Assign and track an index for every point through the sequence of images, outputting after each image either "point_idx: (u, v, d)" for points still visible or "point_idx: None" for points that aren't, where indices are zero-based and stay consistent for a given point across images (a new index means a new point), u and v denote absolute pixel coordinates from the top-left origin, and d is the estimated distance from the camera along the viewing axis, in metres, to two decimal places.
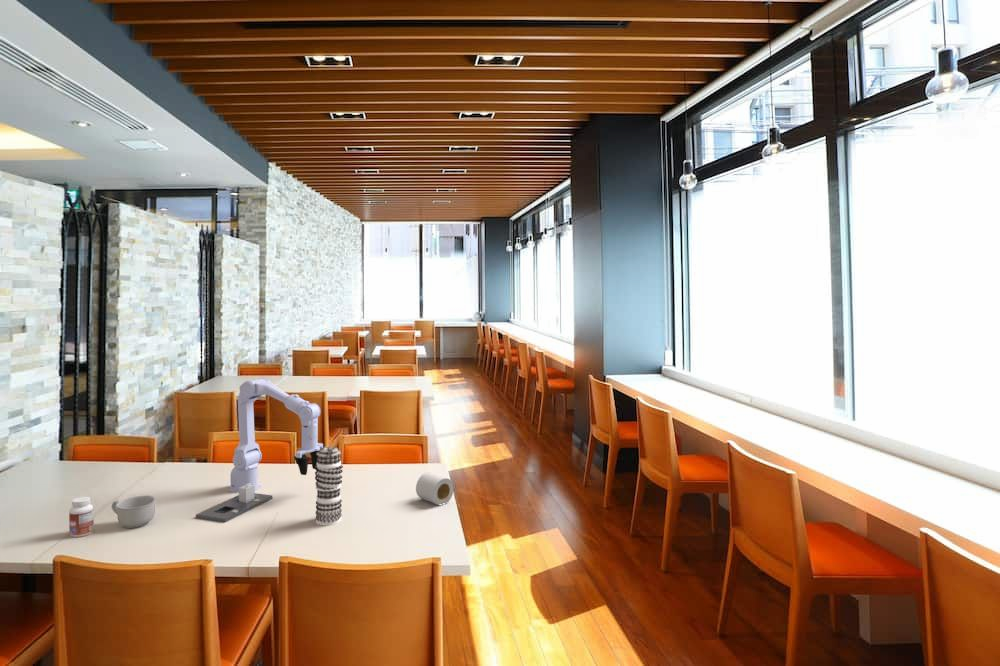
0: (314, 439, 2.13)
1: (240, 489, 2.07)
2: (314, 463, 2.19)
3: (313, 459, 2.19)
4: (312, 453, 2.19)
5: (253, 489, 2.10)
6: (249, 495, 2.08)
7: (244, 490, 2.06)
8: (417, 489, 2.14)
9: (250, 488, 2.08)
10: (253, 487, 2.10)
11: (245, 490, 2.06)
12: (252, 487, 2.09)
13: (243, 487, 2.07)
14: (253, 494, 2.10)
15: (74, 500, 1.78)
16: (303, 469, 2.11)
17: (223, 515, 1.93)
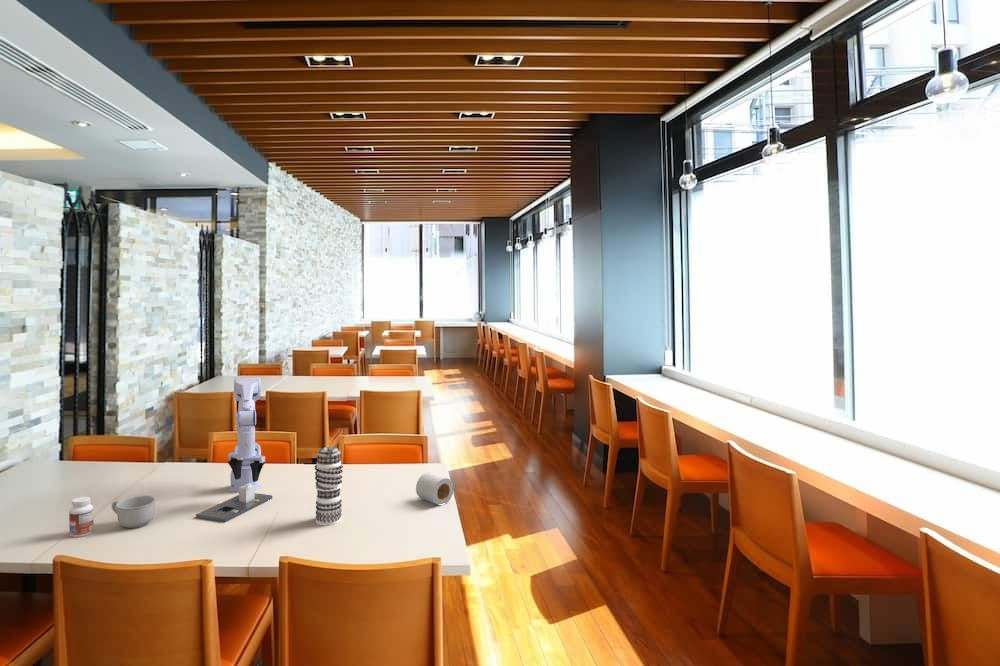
0: (239, 447, 2.05)
1: (240, 489, 2.07)
2: None
3: None
4: None
5: (253, 489, 2.10)
6: (249, 495, 2.08)
7: (244, 490, 2.06)
8: (417, 489, 2.14)
9: (250, 488, 2.08)
10: (253, 487, 2.10)
11: (245, 490, 2.06)
12: (252, 487, 2.09)
13: (243, 487, 2.07)
14: (253, 494, 2.10)
15: (74, 500, 1.78)
16: None
17: (223, 515, 1.93)
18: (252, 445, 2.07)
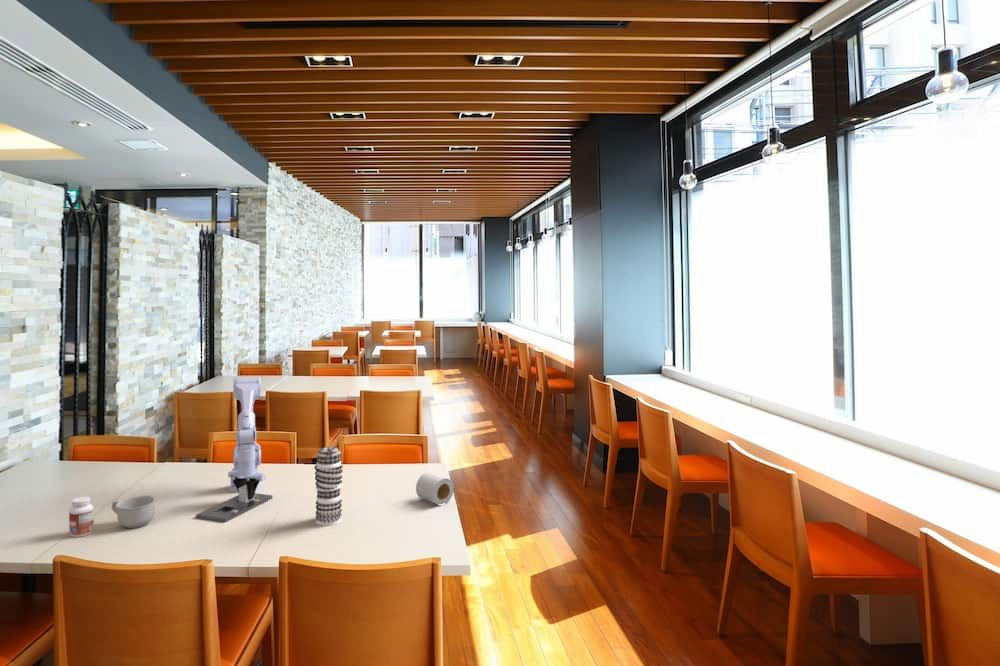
0: (239, 465, 2.06)
1: (240, 489, 2.07)
2: None
3: None
4: None
5: None
6: None
7: (244, 490, 2.06)
8: (417, 489, 2.14)
9: None
10: None
11: (245, 490, 2.06)
12: None
13: (243, 487, 2.07)
14: None
15: (74, 500, 1.78)
16: None
17: (223, 515, 1.93)
18: (252, 463, 2.07)
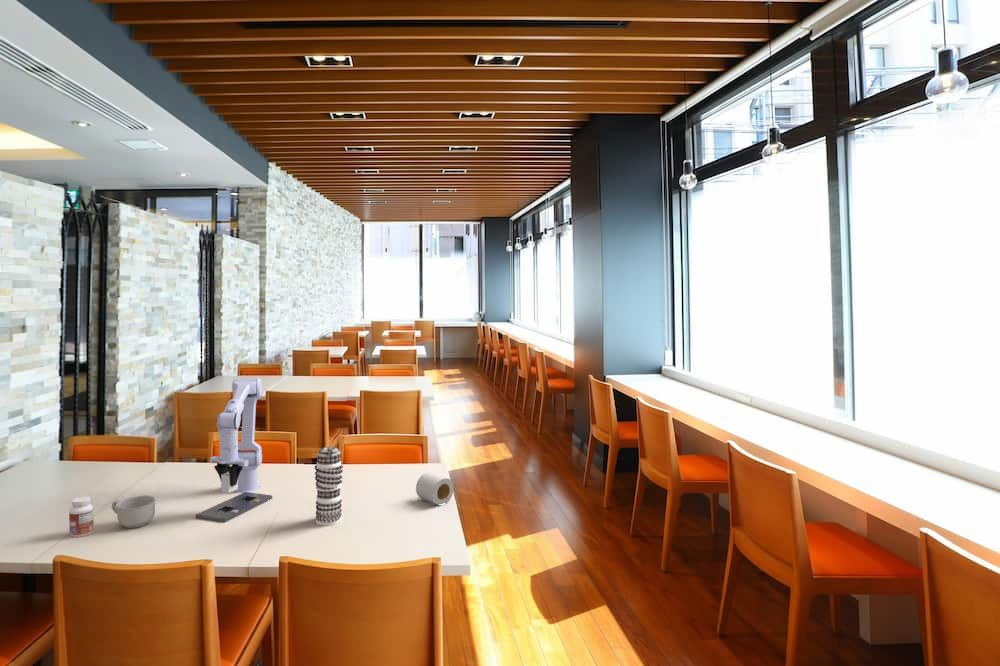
0: (221, 450, 1.97)
1: (223, 476, 1.98)
2: None
3: None
4: None
5: None
6: None
7: (227, 477, 1.98)
8: (417, 489, 2.14)
9: None
10: None
11: (228, 477, 1.98)
12: None
13: (226, 474, 1.98)
14: None
15: (74, 500, 1.78)
16: None
17: (223, 515, 1.93)
18: (235, 448, 1.98)
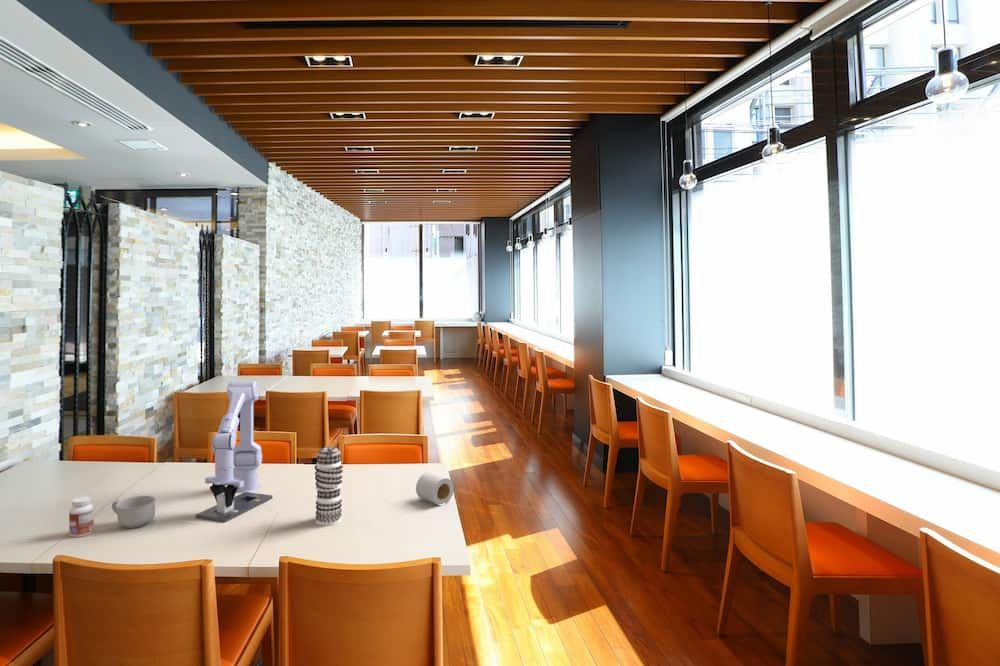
0: (216, 471, 1.95)
1: (218, 497, 1.96)
2: None
3: None
4: None
5: None
6: None
7: (222, 497, 1.96)
8: (417, 489, 2.14)
9: None
10: None
11: (223, 498, 1.96)
12: None
13: (221, 495, 1.97)
14: None
15: (74, 500, 1.78)
16: None
17: (223, 515, 1.93)
18: (230, 469, 1.97)
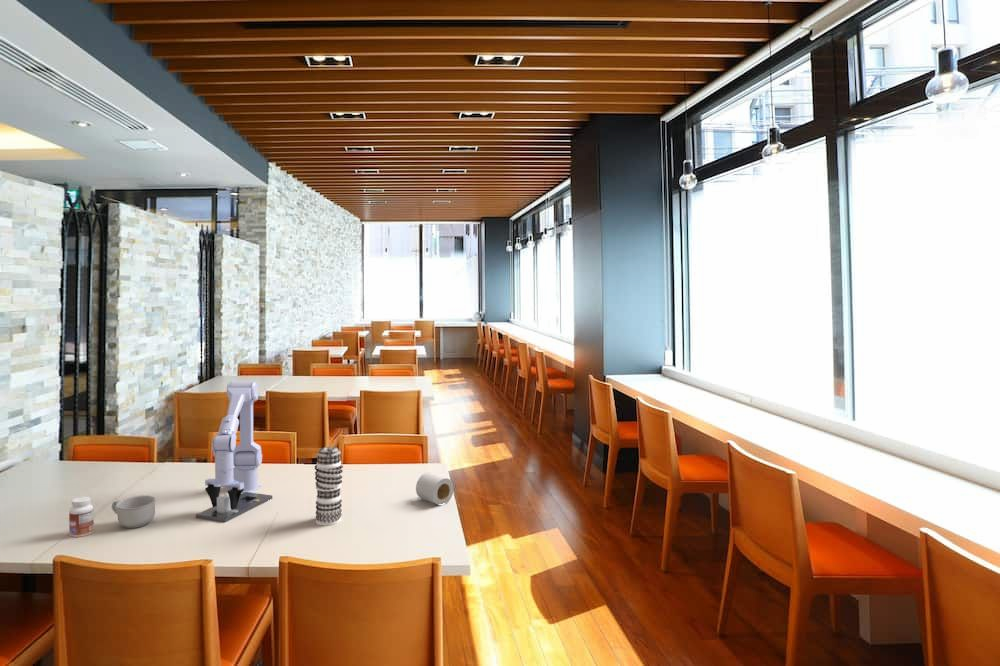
0: (216, 473, 1.95)
1: (218, 499, 1.97)
2: None
3: None
4: None
5: None
6: (228, 505, 1.98)
7: (222, 500, 1.96)
8: (417, 489, 2.14)
9: (229, 498, 1.98)
10: None
11: (223, 500, 1.96)
12: None
13: (221, 497, 1.97)
14: None
15: (74, 500, 1.78)
16: None
17: (223, 515, 1.93)
18: (230, 471, 1.97)
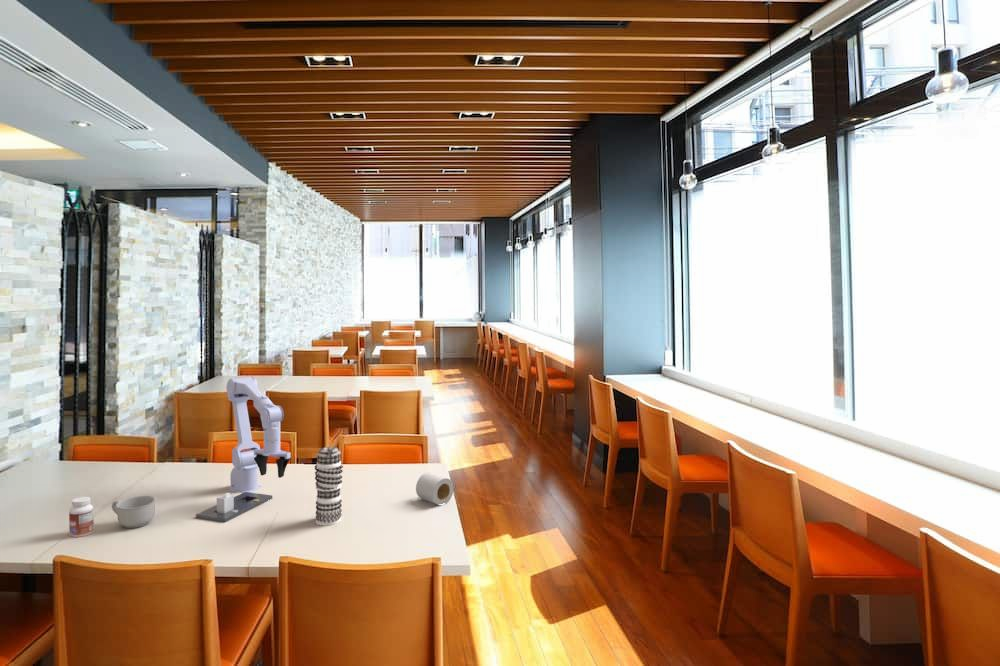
0: (265, 443, 2.07)
1: (218, 499, 1.97)
2: None
3: None
4: None
5: (232, 499, 2.00)
6: (228, 505, 1.98)
7: (222, 500, 1.96)
8: (417, 489, 2.14)
9: (229, 498, 1.98)
10: (232, 497, 2.00)
11: (223, 500, 1.96)
12: (231, 497, 1.99)
13: (221, 497, 1.97)
14: (232, 504, 2.00)
15: (74, 500, 1.78)
16: None
17: (223, 515, 1.93)
18: (278, 441, 2.08)
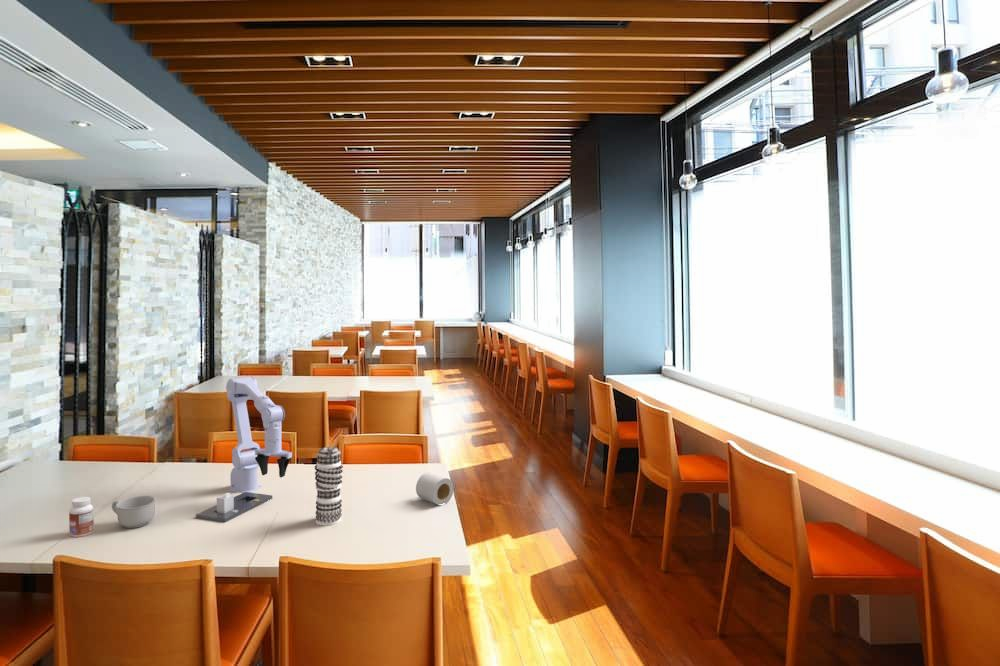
0: (266, 442, 2.08)
1: (218, 499, 1.97)
2: None
3: None
4: None
5: (232, 499, 2.00)
6: (228, 505, 1.98)
7: (222, 500, 1.96)
8: (417, 489, 2.14)
9: (229, 498, 1.98)
10: (232, 497, 2.00)
11: (223, 500, 1.96)
12: (231, 497, 1.99)
13: (221, 497, 1.97)
14: (232, 504, 2.00)
15: (74, 500, 1.78)
16: None
17: (223, 515, 1.93)
18: (279, 441, 2.09)
